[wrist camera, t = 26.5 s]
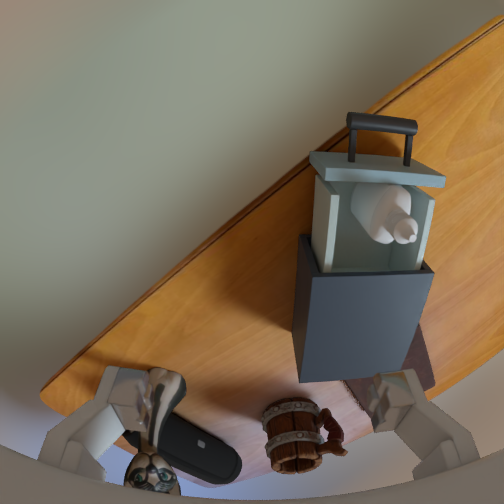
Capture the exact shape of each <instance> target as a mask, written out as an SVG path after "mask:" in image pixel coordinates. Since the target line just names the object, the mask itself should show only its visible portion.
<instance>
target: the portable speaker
mask: <svg viewBox="0 0 504 504" xmlns="http://www.w3.org/2000/svg"><path fill="white" fill-rule="evenodd" d="M122 435H123V437H124V438H125V439H126V440H127V441H128V442H129V443H130V445H132V446H134V447H135V448H137V449H138V431H133V430H126V429H125V432H124V433H123V434H122ZM158 455H160V456H161V457H163V458H164V459H165V460H166V461H167V462H168V463H169V464H170V466H172V467H174V468H177V469H179V470H181V471H183V472H185V473H188V474H190V475H192V476H195V477H197V478H199V479H202V480H204V481H206V482H209V483H212V484H228V483H230V482H232V481H234V480H235V479H236V478H237V477H238V475H239V474H240V472H241V469H242V460H241V457H240V456H239V455H238V453H237V452H236V451H235V449H234V448H232V447H231V446H228V445H226V444H225V443H223V442H221V441H219V440H217V439H215V438H213V437H212V436H210V435H208V434H206V433H204V432H203V431H201V430H199V429H197V428H196V427H194V426H192V425H190V424H189V423H187V422H185V421H184V420H182V419H180V418H179V417H177V416H176V415H174V414H172V413H170V414H169V416H168V418H167V420H166V421H165V424H164V426H163V429H162V432H161V436H160V440H159V445H158Z"/></svg>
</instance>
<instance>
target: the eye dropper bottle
mask: <svg viewBox="0 0 504 504" xmlns="http://www.w3.org/2000/svg"><path fill="white" fill-rule="evenodd" d="M350 209H351V212H352V214H353V215H354V216H355V218H356V219H357V220H358V222H359V223H360V224H361V226H362V227H363V228H364V229H365V231H366V232H367V233H368V235H369V236H370V237H371V238H372V239H373V240H375V241H378V242H381V243H384V244H388V243H390V242H392V241H393V240H394V239H395V241H397V242H398V243H400V244H407V243H409V242H415V241H416V239H417V236H416V235H417V231H418V225H417V223H416V221H415V220H414V219H413V218H412V217H411V216H410V210H411V196H410V193H409V192H408V191H407V190H406V189H404V188H403V187H402V186H400V185H399V184H387V183H369V182H356V184H355V186H354V188H353V191H352V195H351V202H350Z"/></svg>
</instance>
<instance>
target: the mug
mask: <svg viewBox="0 0 504 504" xmlns="http://www.w3.org/2000/svg"><path fill="white" fill-rule="evenodd" d="M261 420H262V425H263V430H264V431H265V432H266V433H267V436H268V442H267V444H266V445H265V449H266V453H267V457H269V458H270V459H271V468H272V469H273V470H274V471H276V472H279V473H282V474H295V473H296V472H297V473H299V474H300V473H305V472H308V471H311V470H313V469H315V468H317V467H318V466H319V465H320V464H321V463H322V455H323V454H326V453H333V454H334V455H337V456H345V455H346V454H347V453H348V451H346V450H345V449H343V448H342V445H341V443H342V442H343V441H344V433H343V430H342V428H341V427H340V425H339V424H338V423H337V421H336V420H335V419H334V418H333V417H332V415H331V412H330V410H329V409H328V408H324V409H322V410H320V408H319V407H318V406H317V404H315V403H314V402H313V401H311V400H309V399H304V398H293V399H292V400H290V398H288V399H283V400H280V401H277V402H275V403H273V404H272V405H270V406H269V407H268V409H266V410H265V412H264V415H263V417H262V418H261ZM323 424H324V426H323ZM322 426H323V427H324V428H325V430H327V431H328V432H329V434H328V437H327V439H328V441H327V442H324V438H323V437H322V436H321V435H320V428H321V427H322Z"/></svg>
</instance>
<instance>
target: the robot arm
mask: <svg viewBox="0 0 504 504" xmlns="http://www.w3.org/2000/svg"><path fill="white" fill-rule="evenodd" d="M149 378H150V376H149V373H148V371H143V370H136V369H129V368H122V367H116V366H109V365H108V366H107V368H106V369H105V371H104V373H103V376H102V379H101V381H100V384H99V387H98V389H97V392H96V395H95V397H94V400H89V401H88V402H86V403H85V404H84V405H82V406H81V407H80V408H78V409H77V410H76V411H75V412H73V413H72V414H71V415H69V416H68V417H67V418H65V419H64V420H63V421H62V422H60V423H59V424H58V425H56V426H55V427H54V428H52V429H51V430H50V431H48V433H47V435H46V438H45V440H44V443H43V446H42V448H41V451H40V454H39V457H38V459H37V460H35V459H33V458H30V457H28V456H25V455H23V454H20V453H18V452H16V451H13V450H11V449H9V448H7V447H5V446H2V445H0V504H504V449H502V450H499V451H497V452H495V453H492V454H490V455H488V456H485V457H483V458H480V456H479V453H478V451H477V448H476V446H475V443H474V440H473V437H472V435H471V433H470V432H469V431H468V430H467V429H465V428H464V427H463V426H462V425H460V424H459V423H458V422H456V421H455V420H454V419H453V418H451V417H450V416H449V415H448V414H446V413H445V412H444V411H443V410H441V409H440V408H439V407H438V406H436V405H435V404H434V403H432V402H431V401H430V402H428V401H427V398H426V396H425V393H424V391H423V388H422V386H421V384H420V381H419V379H418V377H417V374H416V372H415V370H414V369H407V370H396V371H388V372H379V373H376V374H375V375H374V377H373V381H374V383H373V384H372V385H370V386H369V388H368V390H367V396H366V400H367V406H368V409H369V410H370V411H371V412H372V413H373V415H372V417H371V422H372V426H373V430H374V432H375V433H377V432H384V431H391V430H395V431H394V432H395V433H396V434H397V435H398V436H399V437H400V438H401V439H402V440H403V441H404V442H405V443H406V445H407V446H408V447H409V448H410V449H411V450H412V451H413V452H414V453H415V454H416V455H417V456H418V457H419V458H420V459H421V460H422V461H421V462H420V463H419V464H418V465H417V466H416V467H415V468H414V469H413V471H412V473H413V477H414V480H413V481H409V482H405V483H401V484H396V485H393V486H387V487H383V488H378V489H372V490H367V491H361V492H355V493H348V494H342V495H334V496H325V497H315V498H303V499H286V500H227V499H211V498H210V499H209V498H199V497H189V496H180V495H172V494H165V493H159V492H153V491H147V490H141V489H136V488H131V487H126V486H121V485H117V484H113V483H109V482H105V477H106V471H105V469H104V468H103V467H102V466H101V465H100V464H99V463H98V462H97V459H98V458H99V457H100V456H101V455H102V454H103V453H104V452H105V451H106V450H107V449H108V448H109V447H110V446H111V445H112V444H113V443H114V442H115V441H116V440H117V439H118V438H119V437H120V436H121V435H122V434H123V433H124V432H125V429H126V430H133V431H140V432H147V429H148V424H149V420H150V416H149V414H148V411H149V410H150V409H151V408H152V407H153V402H154V388H153V385H152V384H151V383H150V382H149Z"/></svg>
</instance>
